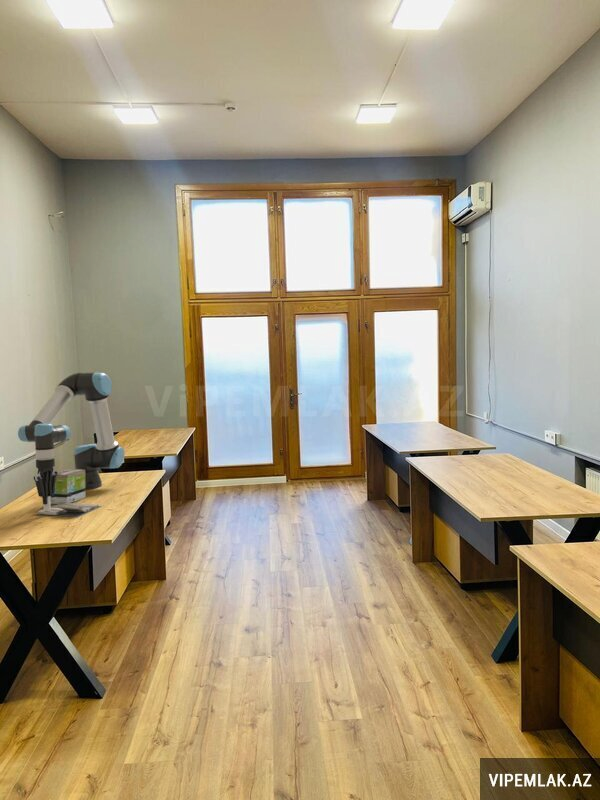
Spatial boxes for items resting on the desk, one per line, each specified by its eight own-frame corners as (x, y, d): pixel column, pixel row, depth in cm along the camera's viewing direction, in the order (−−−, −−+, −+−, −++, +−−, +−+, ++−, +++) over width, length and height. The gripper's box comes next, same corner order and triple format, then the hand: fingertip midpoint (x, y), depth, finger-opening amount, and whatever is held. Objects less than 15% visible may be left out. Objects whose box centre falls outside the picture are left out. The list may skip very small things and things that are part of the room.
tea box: (67, 505, 253) (66, 474, 253) (49, 504, 255) (48, 473, 255) (86, 497, 268) (85, 468, 267) (68, 497, 270) (67, 468, 269)
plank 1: (49, 510, 245) (49, 507, 245) (67, 511, 243) (67, 508, 243) (37, 513, 237) (37, 511, 237) (55, 514, 235) (55, 512, 235)
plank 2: (67, 511, 242) (68, 508, 243) (86, 512, 240) (86, 509, 241) (57, 507, 235) (57, 504, 236) (76, 508, 233) (76, 505, 234)
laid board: (61, 505, 253) (60, 502, 253) (98, 507, 249) (98, 504, 249) (49, 509, 246) (49, 507, 246) (88, 511, 241) (87, 509, 241)
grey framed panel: (62, 504, 256) (62, 503, 256) (102, 506, 251) (102, 506, 251) (34, 515, 237) (34, 515, 237) (77, 518, 232) (77, 517, 232)
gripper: (47, 455, 242) (49, 506, 244) (27, 460, 230) (29, 514, 231) (62, 456, 241) (64, 507, 242) (42, 461, 228) (44, 515, 230)
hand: (47, 510), depth 237 cm, fingers closed
